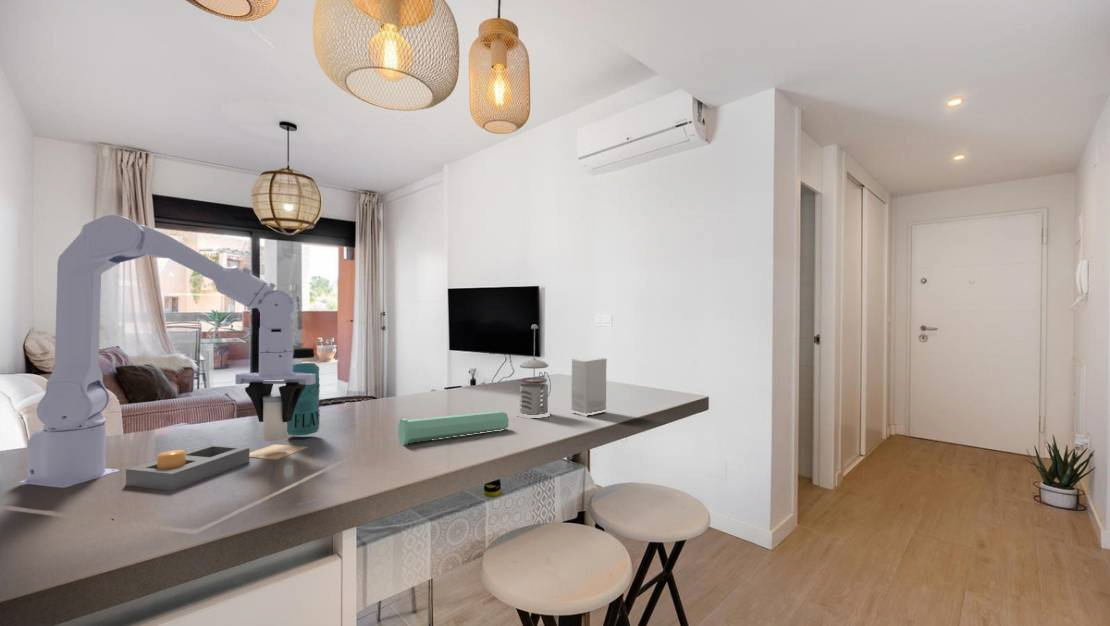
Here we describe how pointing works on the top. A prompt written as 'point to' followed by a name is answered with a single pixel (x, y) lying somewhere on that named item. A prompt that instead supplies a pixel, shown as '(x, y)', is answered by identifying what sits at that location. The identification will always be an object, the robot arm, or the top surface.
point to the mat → (275, 451)
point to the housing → (188, 467)
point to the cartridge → (273, 418)
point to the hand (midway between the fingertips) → (275, 420)
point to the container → (450, 426)
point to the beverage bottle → (306, 398)
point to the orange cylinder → (171, 459)
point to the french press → (534, 388)
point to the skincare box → (588, 384)
